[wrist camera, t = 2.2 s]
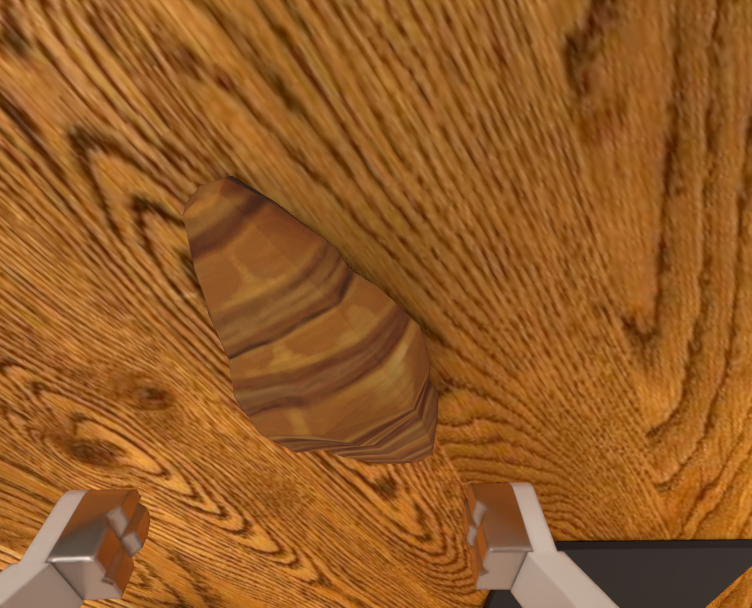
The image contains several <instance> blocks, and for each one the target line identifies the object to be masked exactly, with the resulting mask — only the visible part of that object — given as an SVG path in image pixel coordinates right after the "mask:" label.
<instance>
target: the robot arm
mask: <svg viewBox="0 0 752 608" xmlns="http://www.w3.org/2000/svg"><path fill="white" fill-rule="evenodd" d="M466 492H467V496H468V499H467V500H465V501H464V504H463V509H462V521H463V528H464V534H465V539H466V541H467V542H468V544H469V545H470V546H471V547H472V548H473V549H472V552H471V556H470V564H471V569H472V574H473V579H474V584H475V588H476V589H496V590H511V593H512V594H513V596H514V597H515V598H516V600H517V601H518V602H519V604H520V605H521V606H522V608H619V607H618V606H617V605H616V604H615V603H614V602H613V601H612V600H611V599H610V598H609V597H608V596H607V595H606V594H605V593H604V592H603V591H602V590H601V589H600V588H599V587H598V586H597V585H596V584H595V583H594V582H593V581H592V580H591V579H590V578H589V577H588V576H587V575H586V574H585V573H584V572H583V571H582V570H581V569H580V568H579V567H578V566H577V565H576V564H575V563H574V562H573V561H572V560H571V559H570V558H569V557H568V556H567V555H566V554H565V553H564V552H561V551H557V549H556V546H555V544H554V541H553V538H552V536H551V533H550V530H549V528H548V525H547V522H546V520H545V517H544V514H543V512H542V509H541V506H540V504H539V501H538V498H537V496H536V493H535V490H534V488H533V486H532V485H531V484H530V483H528V482H497V483H470V484H469V485H468V487H467V491H466ZM140 498H141V496H140V494H139V493H138V491H137V489H113V490H93V489H89V490H68V491H67V492H66V493H65V494H64V495H63V496H62V497H61V498H60V499H59V501H58V502H57V504H56V505H55V507H54V508H53V510H52V512H51V513H50V515H49V516H48V518H47V519H46V521H45V523H44V524H43V526H42V527H41V529H40V531H39V532H38V534H37V535H36V537H35V538H34V540H33V542H32V543H31V545H30V546H29V548H28V549H27V551H26V553H25V554H24V556H23V557H22V559H21V560H20V562H19V563H13V564H11V565H10V566H8V567H7V568H6V569H4V570H3V571H2V572H1V573H0V608H79V607H80V606H81V605H82V604H83V603H84V601H83V600H97V599H116V598H122V596H123V593H124V591H125V589H126V586H127V584H128V582H129V579H130V577H131V574H132V572H133V570H134V563H133V559H132V557H133V556H134V555H135V554H136V553H137V552H138V551H139V550H140V549H141V548H142V547H143V545H144V543H145V540H146V538H147V535H148V531H149V525H150V516H149V511H148V509H147V507H145V506H144V505H142V504H140V503H138V502H139V500H140Z"/></svg>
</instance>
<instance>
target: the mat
mask: <svg viewBox="0 0 752 608" xmlns="http://www.w3.org/2000/svg"><path fill="white" fill-rule="evenodd" d="M554 544H555V546H556V549H557V551H561V552H564V553H565V554H566V555H567V556H568V557H569V558H570V559H571V560H572V561H573V562H574V563H575V564H576V565H577V566H578V567H579V568H580V569H581V570H582V571H583V572H584V573H585V574H586V575H587V576H588V577H589V578H590V579H591V580H592V581H593V582H594V583H595V584H596V585H597V586H598V587H599V588H600V589H601V590H602V591H603V592H604V593H605V594H606V595H607V596H608V597H609V598H610V599H611V600H612V601H613V602H614V603H615V604H616V605H617V606H618V607H619V608H705V607H706V606H707V605H709V604H710V603H711V602H712V601H713V600H714V599H715V598H716V597H717V596H719V595H720V594H721V593H722V592H723V591H724V590H725V589H726V588H727V587H729V586H730V585H731V584H732V583H733V582H734V581H735V580H736V579H737V578H739V577H740V576H741V575H742V574H743V573H744V572H745V571H746V570H747V569H749V568H750V567H751V566H752V540H699V541H604V542H554ZM484 608H522V606H521V605H520V604H519V602H518V601H517V600H516V598H515V597H514V596H513V594H512V593H511V590H496V589H491V591H490V594H489V597H488V599H487V602H486V604H485V607H484Z"/></svg>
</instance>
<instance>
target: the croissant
mask: <svg viewBox="0 0 752 608" xmlns="http://www.w3.org/2000/svg"><path fill="white" fill-rule="evenodd" d="M183 218H184V223H185V228H186V232H187V237H188V241H189V246H190V250H191V255H192V259H193V264H194V268H195V272H196V275H197V278H198V280H199V283H200V286H201V289H202V291H203V294H204V297H205V300H206V304H207V309H208V313H209V316H210V318H211V321H212V323H213V325H214V327H215V330H216V332H217V334H218V336H219V339H220V341H221V343H222V345H223V348H224V350H225V352H226V354H227V356H228V359H229V366H230V372H231V378H232V385H233V391H234V397H235V399H236V400H237V402H238V403H239V405H240V406H241V407H242V409H243V410H244V412H245V413H246V414H247V416H248V417H249V419H250V420H251V422H252V423H253V424H254V426H255V427H256V429H257V430H258V432H259V433H260V434H261V435H262V436H264V437H266V438H268V439H270V440H272V441H274V442H276V443H278V444H280V445H282V446H284V447H286V448H288V449H290V450H292V451H294V452H296V453H297V452H307V451H317V450H325V451H328V452H331V453H334V454H337V455H339V456H342V457H347V458H352V459H357V460H362V461H366V462H371V463H376V464H399V463H411V462H419V461H421V460H423V459H424V458H426V457H427V456H429V455H430V454H432V450H433V444H434V439H435V433H436V427H437V418H438V396H439V393H438V392H437V391H436V390H435V388H434V387H433V386H432V385H431V384H430V382H429V381H428V378H429V370H430V359H429V356H428V352H427V349H426V345H425V342H424V338H423V335H422V331H421V328H420V325H419V324H418V323H416V322H415V321H414V320H413V319H412V318H411V317H410V316H409V315H408V314H407V313H406V312H405V311H404V310H403V309H401V308H400V307H399V306H398V305H397V304H396V303H395V302H394V301H393V300H392V299H391V298H390V297H389V296H387V295H386V294H385V293H384V292H383V291H382V290H381V289H380V288H378V287H377V286H375V285H374V284H372V283H371V282H369V281H367V280H366V279H364V278H363V277H361V276H359V275H358V274H356V273H355V272H353V271H352V270H350V269H349V268H348V266H347V265H346V263H345V262H344V260H343V258H342V257H341V255H340V254H339V252H338V251H337V249H336V247H335V246H334V245H333V244H331V243H330V242H328V241H327V240H325V239H324V238H322V237H321V236H319V235H318V234H316V233H315V232H313V231H312V230H311V229H309V228H308V227H307V226H306V225H304V224H303V223H302V222H300V221H299V220H298V219H296V218H295V217H294V216H293V215H291V214H290V213H289V212H287V211H286V210H285V209H283V208H282V207H281V206H280V205H278V204H277V203H276V202H274V201H272V200H271V199H269V198H268V197H266V196H264V195H263V194H261V193H259V192H258V191H256V190H255V189H253V188H251V187H250V186H248V185H246V184H245V183H243V182H242V181H240V180H238V179H237V178H235V177H233V176H230V177H227V178H223V179H220V180H216V181H213V182H209V183H206V184H202V185H200V187H199V188H198V189H197V190H196V192H195V193H194V194H193V195H192V197H191V198H190V199H189V200H188V202H187V203H186V205H185V209H184V213H183Z"/></svg>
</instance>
